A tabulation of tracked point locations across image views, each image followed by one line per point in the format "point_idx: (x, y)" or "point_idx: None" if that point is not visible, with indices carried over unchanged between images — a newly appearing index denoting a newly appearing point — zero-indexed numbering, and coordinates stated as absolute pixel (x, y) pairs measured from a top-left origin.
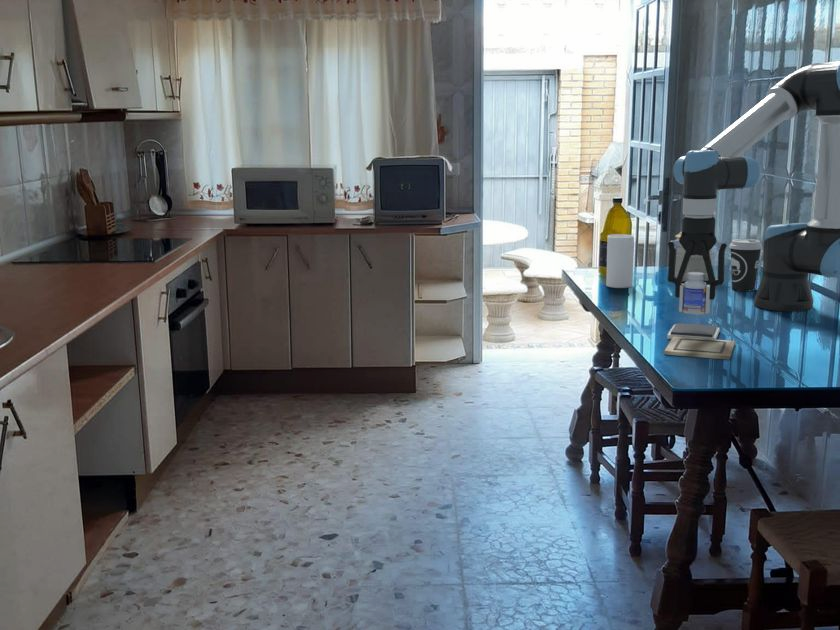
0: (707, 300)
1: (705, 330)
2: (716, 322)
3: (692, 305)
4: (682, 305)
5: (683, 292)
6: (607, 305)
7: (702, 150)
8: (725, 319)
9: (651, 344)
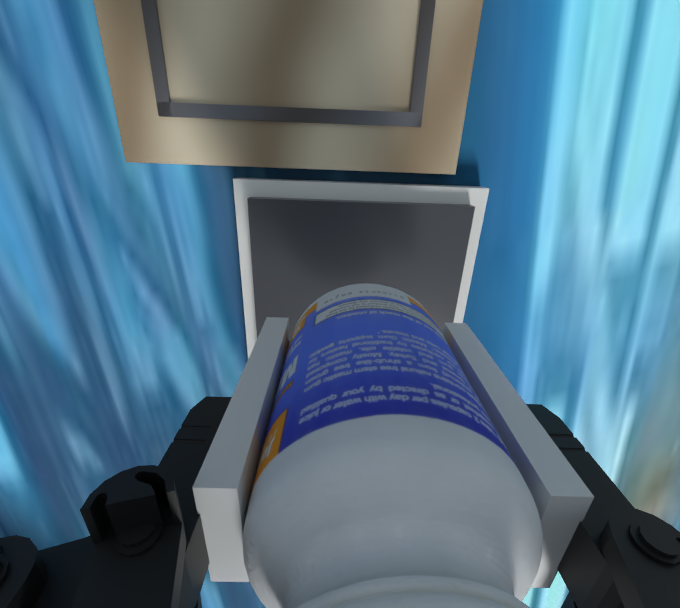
0: (256, 373)
1: (296, 287)
2: None
3: (382, 308)
4: (458, 350)
5: None
6: None
7: None
8: None
9: (581, 13)
